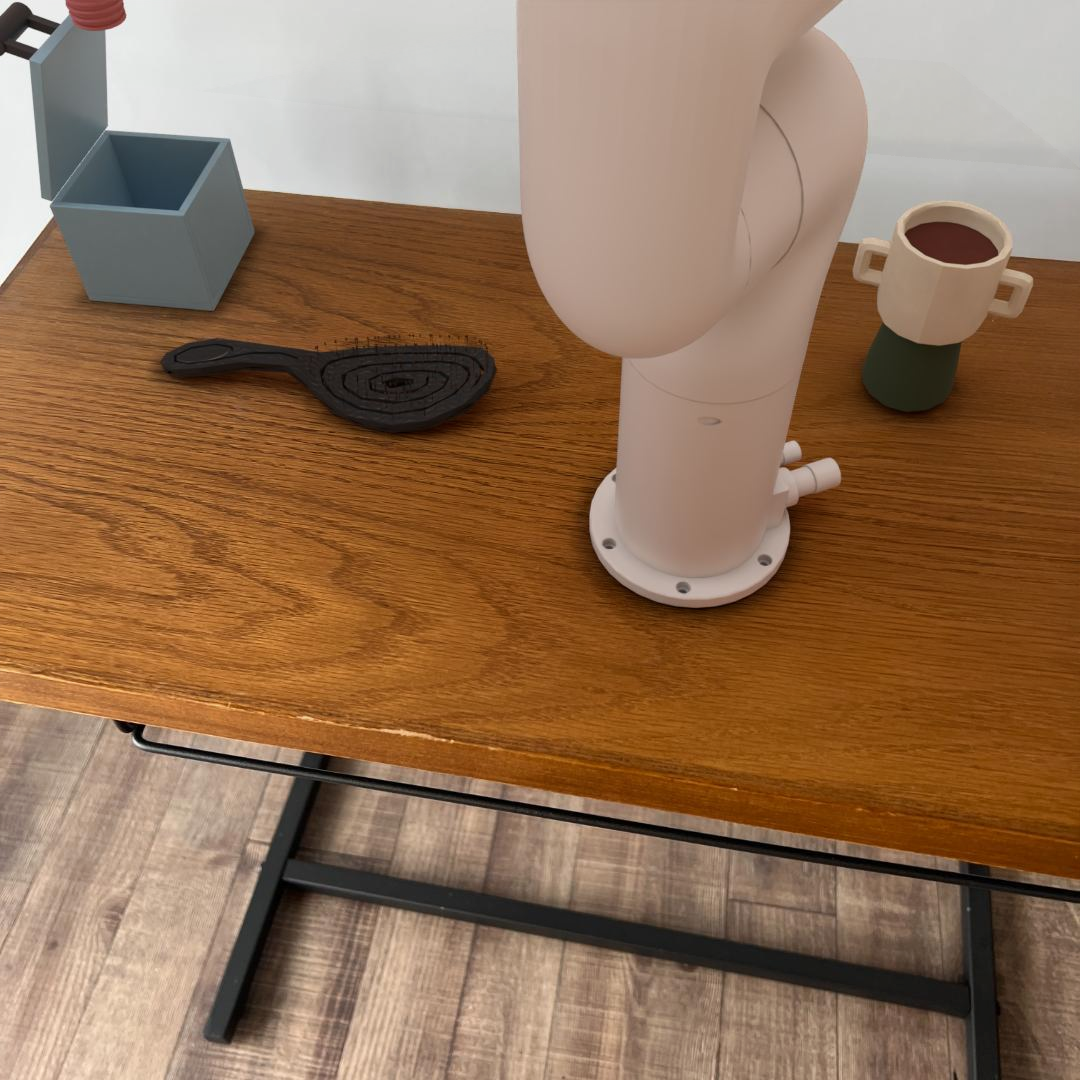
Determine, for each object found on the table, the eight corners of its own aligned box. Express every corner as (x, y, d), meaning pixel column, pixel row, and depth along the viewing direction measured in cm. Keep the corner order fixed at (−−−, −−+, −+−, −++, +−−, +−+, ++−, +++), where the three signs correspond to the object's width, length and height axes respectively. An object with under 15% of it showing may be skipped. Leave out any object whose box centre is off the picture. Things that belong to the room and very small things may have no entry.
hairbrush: (175, 299, 80) (504, 320, 76) (191, 338, 83) (509, 360, 79) (129, 376, 75) (479, 402, 71) (148, 414, 78) (485, 442, 74)
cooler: (255, 232, 90) (230, 138, 83) (213, 311, 84) (183, 215, 77) (138, 223, 91) (105, 129, 84) (89, 300, 85) (48, 205, 78)
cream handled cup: (990, 376, 78) (1054, 221, 67) (972, 442, 73) (1037, 287, 63) (840, 337, 80) (880, 182, 70) (815, 398, 76) (853, 244, 66)
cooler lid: (104, -10, 76) (26, -38, 75) (41, 63, 69) (-45, 33, 69) (108, 126, 84) (38, 102, 83) (52, 202, 78) (-25, 176, 77)
